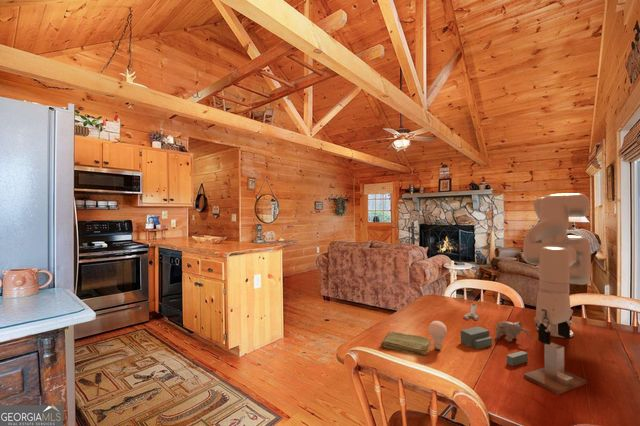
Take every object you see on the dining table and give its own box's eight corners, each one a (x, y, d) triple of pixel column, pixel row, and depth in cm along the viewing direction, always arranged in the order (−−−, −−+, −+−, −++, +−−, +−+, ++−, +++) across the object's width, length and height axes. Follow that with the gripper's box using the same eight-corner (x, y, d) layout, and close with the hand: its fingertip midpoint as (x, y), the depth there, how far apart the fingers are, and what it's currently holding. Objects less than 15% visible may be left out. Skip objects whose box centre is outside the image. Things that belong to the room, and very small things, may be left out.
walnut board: (551, 367, 103) (551, 365, 103) (586, 383, 93) (586, 380, 93) (523, 377, 97) (523, 374, 97) (558, 394, 88) (558, 391, 88)
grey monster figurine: (497, 333, 132) (496, 316, 132) (531, 338, 125) (529, 320, 125) (495, 341, 124) (493, 323, 125) (530, 347, 117) (528, 327, 117)
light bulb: (437, 354, 113) (437, 325, 113) (425, 347, 119) (424, 319, 119) (451, 351, 116) (450, 322, 115) (437, 344, 122) (437, 317, 121)
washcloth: (427, 358, 112) (427, 349, 112) (380, 349, 119) (380, 341, 119) (430, 343, 123) (430, 335, 123) (387, 336, 131) (387, 329, 131)
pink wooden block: (551, 372, 98) (551, 342, 98) (573, 382, 92) (573, 350, 92) (544, 375, 96) (544, 344, 96) (565, 385, 91) (565, 352, 91)
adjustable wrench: (471, 306, 169) (471, 303, 169) (484, 308, 166) (484, 305, 166) (463, 319, 149) (463, 316, 149) (477, 322, 145) (477, 318, 145)
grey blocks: (478, 338, 127) (478, 326, 127) (529, 361, 107) (529, 347, 107) (460, 342, 123) (460, 330, 123) (510, 366, 104) (510, 352, 104)
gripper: (558, 280, 102) (558, 330, 102) (523, 286, 95) (524, 340, 96) (584, 285, 95) (584, 339, 95) (549, 293, 88) (549, 350, 89)
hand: (554, 339), depth 96 cm, fingers open, 9 cm apart
